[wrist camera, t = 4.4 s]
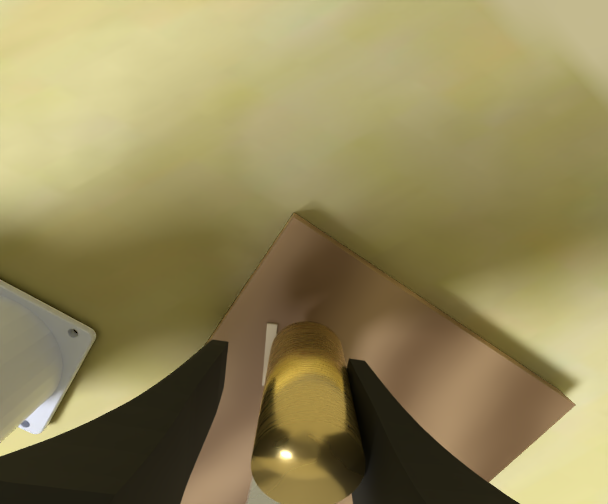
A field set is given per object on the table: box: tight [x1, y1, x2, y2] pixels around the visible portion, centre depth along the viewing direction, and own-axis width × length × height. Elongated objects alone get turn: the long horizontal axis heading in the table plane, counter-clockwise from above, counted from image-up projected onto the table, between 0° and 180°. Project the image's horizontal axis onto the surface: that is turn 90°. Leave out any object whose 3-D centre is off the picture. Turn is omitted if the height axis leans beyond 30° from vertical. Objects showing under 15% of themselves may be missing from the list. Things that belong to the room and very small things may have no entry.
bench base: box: [181, 213, 575, 504], centre depth 18 cm, size 18×22×1 cm
